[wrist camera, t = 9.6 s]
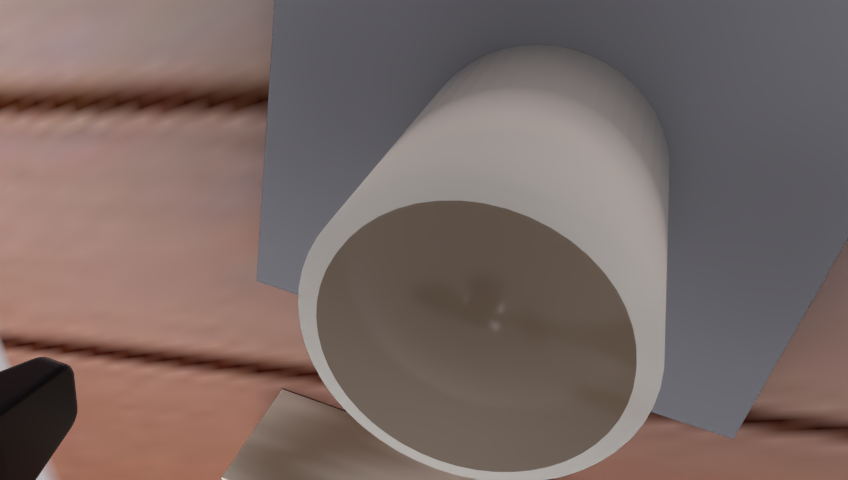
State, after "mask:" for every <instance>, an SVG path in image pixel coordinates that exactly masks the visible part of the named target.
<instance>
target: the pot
mask: <svg viewBox="0 0 848 480" xmlns="http://www.w3.org/2000/svg"><path fill="white" fill-rule="evenodd" d="M669 167H670V160H669V152H668V145H667V141H666V138H665V134H664V131H663V128H662V126H661V123H660V121H659V119H658V117H657V115H656V113H655V111H654V109H653V108H652V106H651V105H650V103H649V102H648V100H647V99H646V97H645V96H644V95H643V94H642V93H641V92H640V90H639V89H638V88H637V87H636V86H635V85H634V84H633V83H632V82H631V81H630V80H629V79H627V78H626V77H625V76H624V75H623V74H622V73H620V72H619V71H617V70H616V69H614V68H613V67H611V66H610V65H608V64H607V63H605V62H603V61H601V60H599V59H597V58H595V57H593V56H591V55H588V54H585V53H582V52H579V51H576V50H573V49H568V48H563V47H558V46H549V45H526V46H516V47H511V48H507V49H502V50H499V51H496V52H493V53H490V54H487V55H485V56H483V57H481V58H479V59H477V60H475V61H473V62H471V63H470V64H468V65H467V66H465V67H464V68H463V69H461V70H460V71H458V72H457V73H456V74H455V75H454V76H453V77H452V78H451V79H450V80H448V81H447V82H446V83H445V85H444V86H443V87H442V88H441V89H440V91H439V92H438V93H437V94H436V95H435V97H434V98H433V99H432V100H431V101H430V102H429V104H428V105H427V106H426V107H425V108H424V110H423V111H422V112H421V113H420V114H419V116H418V117H417V118H416V119H415V120H414V121H413V123H412V124H411V125H410V126H409V127H408V129H407V130H406V131H405V132H404V133H403V135H402V136H401V137H400V138H399V139H398V140H397V142H396V143H395V144H394V145H393V146H392V148H391V149H390V150H389V151H388V152H387V154H386V155H385V156H384V157H383V158H382V160H381V161H380V162H379V163H378V164H377V165H376V167H375V168H374V169H373V170H372V171H371V173H370V174H369V175H368V176H367V177H366V179H365V180H364V181H363V182H362V183H361V184H360V186H359V187H358V188H357V189H356V190H355V192H354V193H353V194H352V195H351V196H350V198H349V199H348V200H347V201H346V202H345V203H344V205H343V206H342V207H341V208H340V209H339V211H338V212H337V213H336V214H335V215H334V217H333V218H332V219H331V220H330V221H329V223H328V224H327V225H326V226H325V228H324V229H323V230H322V231H321V233H320V234H319V235H318V236H317V238H316V240H315V242H314V243H313V245H312V247H311V249H310V251H309V252H308V255H307V258H306V260H305V263H304V266H303V269H302V273H301V278H300V283H299V289H298V312H299V320H300V327H301V331H302V335H303V339H304V343H305V346H306V348H307V351H308V353H309V356H310V358H311V361H312V363H313V365H314V367H315V368H316V370H317V372H318V374H319V376H320V378H321V379H322V381H323V382H324V384H325V385H326V387H327V388H328V389H329V391H330V392H331V394H332V395H333V397H334V398H335V399H336V400H337V401H338V402H339V403H340V405H341V406H342V407H343V408H344V409H345V410H346V411H347V412H348V413H349V414H350V415H351V416H352V417H353V418H354V419H355V420H356V421H357V422H358V423H359V424H360V425H361V426H362V427H364V428H365V429H366V430H368V431H369V432H370V433H372V434H373V435H374V436H375V437H377V438H378V439H379V440H381V441H382V442H384V443H386V444H387V445H389V446H390V447H392V448H393V449H395V450H397V451H398V452H400V453H402V454H404V455H406V456H408V457H410V458H412V459H414V460H416V461H418V462H421V463H423V464H425V465H428V466H430V467H433V468H435V469H438V470H441V471H445V472H448V473H451V474H454V475H458V476H463V477H468V478H472V479H477V480H548V479H553V478H559V477H563V476H566V475H569V474H572V473H576V472H579V471H582V470H584V469H586V468H588V467H590V466H592V465H595V464H597V463H599V462H601V461H602V460H604V459H605V458H607V457H608V456H610V455H612V454H613V453H615V452H616V451H617V450H619V449H620V448H621V447H622V446H623V445H624V444H625V443H627V442H628V441H629V440H630V439H631V438H632V437H633V436H634V435H635V433H636V432H637V431H638V430H639V429H640V427H641V426H642V425H643V424H644V422H645V420H646V419H647V417H648V415H649V414H650V412H651V410H652V408H653V407H654V404H655V401H656V399H657V396H658V393H659V391H660V388H661V383H662V377H663V372H664V359H665V322H666V284H667V247H668V210H669Z"/></svg>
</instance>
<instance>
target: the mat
mask: <svg viewBox="0 0 848 480" xmlns="http://www.w3.org/2000/svg"><path fill="white" fill-rule="evenodd" d="M526 45H549V46H558V47H563V48H568V49H573V50H576V51H579V52H582V53H585V54H588V55H591V56H593V57H595V58H597V59H599V60H601V61H603V62H605V63H607V64H608V65H610V66H611V67H613V68H614V69H616V70H617V71H619V72H620V73H622V74H623V75H624V76H625V77H626V78H627V79H629V80H630V81H631V82H632V83H633V84H634V85H635V86H636V87H637V88H638V89H639V90H640V92H641V93H642V94H643V95H644V96H645V97H646V99H647V100H648V102H649V103H650V105H651V106H652V108H653V109H654V111H655V113H656V115H657V117H658V119H659V121H660V123H661V126H662V128H663V131H664V134H665V138H666V141H667V145H668V152H669V160H670V167H669V210H668V247H667V284H666V322H665V359H664V372H663V377H662V383H661V388H660V391H659V393H658V396H657V399H656V401H655V404H654V407H653V408H652V410H651V412H653V413H656V414H659V415H662V416H665V417H668V418H671V419H674V420H677V421H680V422H683V423H686V424H689V425H692V426H695V427H698V428H701V429H704V430H707V431H710V432H713V433H716V434H719V435H722V436H725V437H728V438H731V439H734V437H735V435H736V433H737V432H738V430H739V428H740V426H741V425H742V423H743V421H744V419H745V418H746V416H747V414H748V412H749V411H750V409H751V407H752V405H753V404H754V402H755V400H756V398H757V397H758V395H759V393H760V391H761V390H762V388H763V386H764V384H765V383H766V381H767V379H768V377H769V376H770V374H771V372H772V370H773V369H774V367H775V365H776V363H777V362H778V360H779V358H780V356H781V355H782V353H783V351H784V349H785V348H786V346H787V344H788V342H789V341H790V339H791V337H792V335H793V334H794V332H795V330H796V328H797V327H798V325H799V323H800V321H801V320H802V318H803V316H804V314H805V313H806V311H807V309H808V307H809V306H810V304H811V302H812V300H813V299H814V297H815V295H816V293H817V292H818V290H819V288H820V286H821V285H822V283H823V281H824V279H825V278H826V276H827V274H828V272H829V271H830V269H831V267H832V265H833V264H834V262H835V260H836V258H837V257H838V255H839V253H840V252H841V250H842V248H843V246H844V245H845V243H846V241H847V239H848V0H275V3H274V18H273V34H272V49H271V65H270V81H269V96H268V112H267V127H266V143H265V158H264V174H263V189H262V205H261V221H260V236H259V252H258V267H257V281H258V282H261V283H265V284H268V285H271V286H274V287H277V288H280V289H283V290H286V291H289V292H292V293H295V294H298V289H299V283H300V278H301V273H302V269H303V266H304V263H305V260H306V258H307V255H308V252H309V251H310V249H311V247H312V245H313V243H314V242H315V240H316V238H317V236H318V235H319V234H320V233H321V231H322V230H323V229H324V228H325V226H326V225H327V224H328V223H329V221H330V220H331V219H332V218H333V217H334V215H335V214H336V213H337V212H338V211H339V209H340V208H341V207H342V206H343V205H344V203H345V202H346V201H347V200H348V199H349V198H350V196H351V195H352V194H353V193H354V192H355V190H356V189H357V188H358V187H359V186H360V184H361V183H362V182H363V181H364V180H365V179H366V177H367V176H368V175H369V174H370V173H371V171H372V170H373V169H374V168H375V167H376V165H377V164H378V163H379V162H380V161H381V160H382V158H383V157H384V156H385V155H386V154H387V152H388V151H389V150H390V149H391V148H392V146H393V145H394V144H395V143H396V142H397V140H398V139H399V138H400V137H401V136H402V135H403V133H404V132H405V131H406V130H407V129H408V127H409V126H410V125H411V124H412V123H413V121H414V120H415V119H416V118H417V117H418V116H419V114H420V113H421V112H422V111H423V110H424V108H425V107H426V106H427V105H428V104H429V102H430V101H431V100H432V99H433V98H434V97H435V95H436V94H437V93H438V92H439V91H440V89H441V88H442V87H443V86H444V85H445V83H446V82H447V81H448V80H450V79H451V78H452V77H453V76H454V75H455V74H456V73H457V72H458V71H460V70H461V69H463V68H464V67H465V66H467V65H468V64H470V63H471V62H473V61H475V60H477V59H479V58H481V57H483V56H485V55H487V54H490V53H493V52H496V51H499V50H502V49H507V48H511V47H516V46H526Z"/></svg>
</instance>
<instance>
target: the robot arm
mask: <svg viewBox="0 0 848 480" xmlns="http://www.w3.org/2000/svg"><path fill="white" fill-rule="evenodd" d="M76 415H77V399H76V390H75V380H74V373H73V370H72V368H71V367H70V366H69V365H67V364H64V363H62V362H59V361H56V360H53V359H51V358H47V357H38V358H35V359H32V360H29V361H27V362H24V363H21V364H19V365H16V366H14V367H11V368H8V369H6V370H3V371H1V372H0V480H36V478H37V477H38V475H39V474H40V473H41V471H42V470H43V468H44V467H45V465H46V464H47V462H48V461H49V459H50V458H51V456H52V455H53V453H54V452H55V451H56V449H57V448H58V446H59V445H60V443H61V442H62V440H63V439H64V437H65V436H66V434H67V433H68V431H69V430H70V428H71V427H72V425H73V423H74V421H75V418H76Z"/></svg>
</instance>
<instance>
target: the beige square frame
mask: <svg viewBox="0 0 848 480" xmlns="http://www.w3.org/2000/svg"><path fill="white" fill-rule="evenodd" d="M222 480H477V479H472V478H468V477H463V476H458V475H454V474H451V473H448V472H445V471H441V470H438V469H435V468H433V467H430V466H428V465H425V464H423V463H421V462H418V461H416V460H414V459H412V458H410V457H408V456H406V455H404V454H402V453H400V452H398V451H397V450H395V449H393V448H392V447H390V446H389V445H387V444H386V443H384V442H382V441H381V440H379V439H378V438H377V437H375V436H374V435H373V434H372V433H370V432H369V431H368V430H366V429H365V428H364V427H362V426H361V425H360V424H359V423H358V422H357V421H356V420H355V419H354V418H353V417H352V416H351V415H350V414H349V413H348V412H345V411H342V410H339V409H337V408H334V407H331V406H328V405H325V404H323V403H320V402H317V401H314V400H311V399H308V398H306V397H303V396H300V395H297V394H294V393H291V392H289V391H286V390H283V389H282V390H281V391H280V393H279V394H278V396H277V397H276V399H275V400H274V402H273V403H272V405H271V406H270V407H269V409H268V410H267V412H266V413H265V415H264V416H263V418H262V419H261V421H260V422H259V424H258V425H257V426H256V428H255V429H254V431H253V432H252V434H251V435H250V437H249V438H248V440H247V441H246V443H245V444H244V445H243V447H242V448H241V450H240V451H239V453H238V454H237V456H236V457H235V459H234V460H233V462H232V463H231V465H230V466H229V467H228V469H227V470H226V472H225V473H224V475H223V476H222Z"/></svg>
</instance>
